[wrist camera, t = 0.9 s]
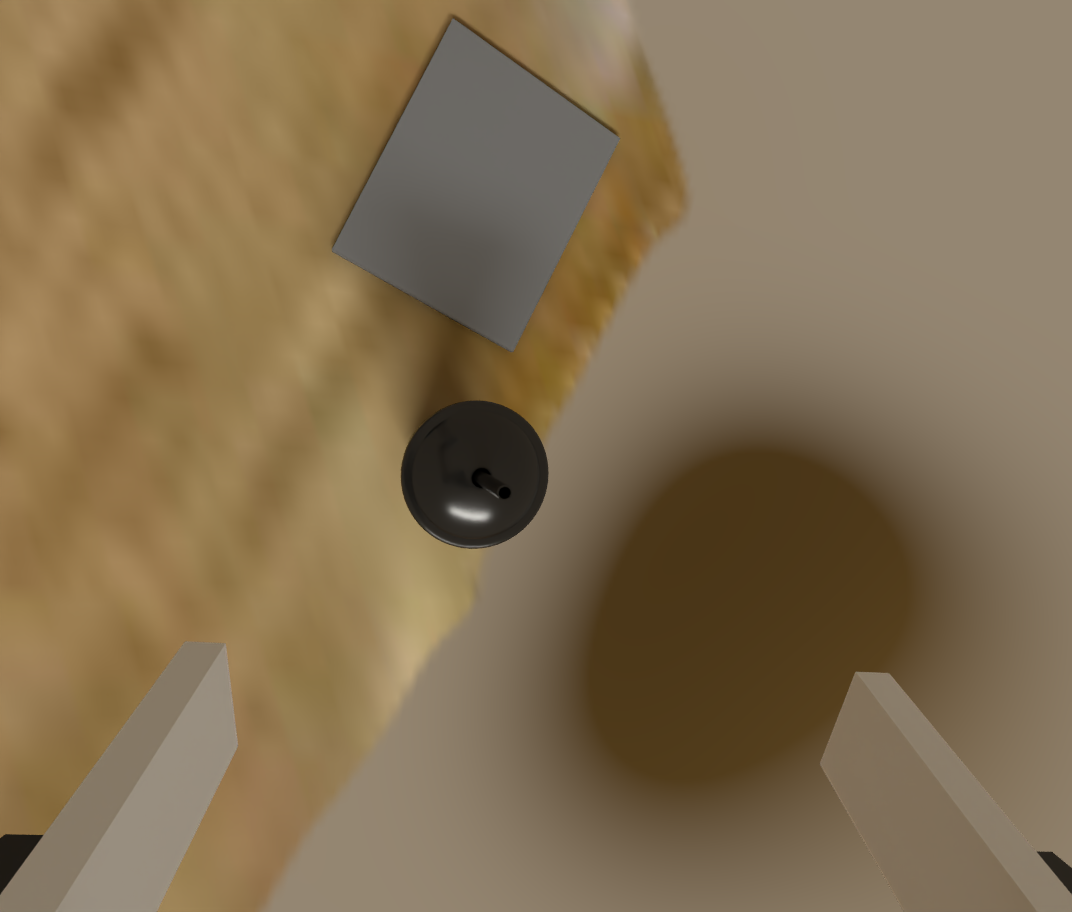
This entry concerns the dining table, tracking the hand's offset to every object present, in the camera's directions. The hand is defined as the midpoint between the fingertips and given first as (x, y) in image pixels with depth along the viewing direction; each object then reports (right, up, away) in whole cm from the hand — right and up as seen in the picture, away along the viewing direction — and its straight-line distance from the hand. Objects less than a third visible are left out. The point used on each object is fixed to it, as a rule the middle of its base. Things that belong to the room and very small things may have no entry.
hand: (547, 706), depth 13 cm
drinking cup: (-7, +5, +31) cm, 32 cm away
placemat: (-4, +24, +30) cm, 39 cm away
